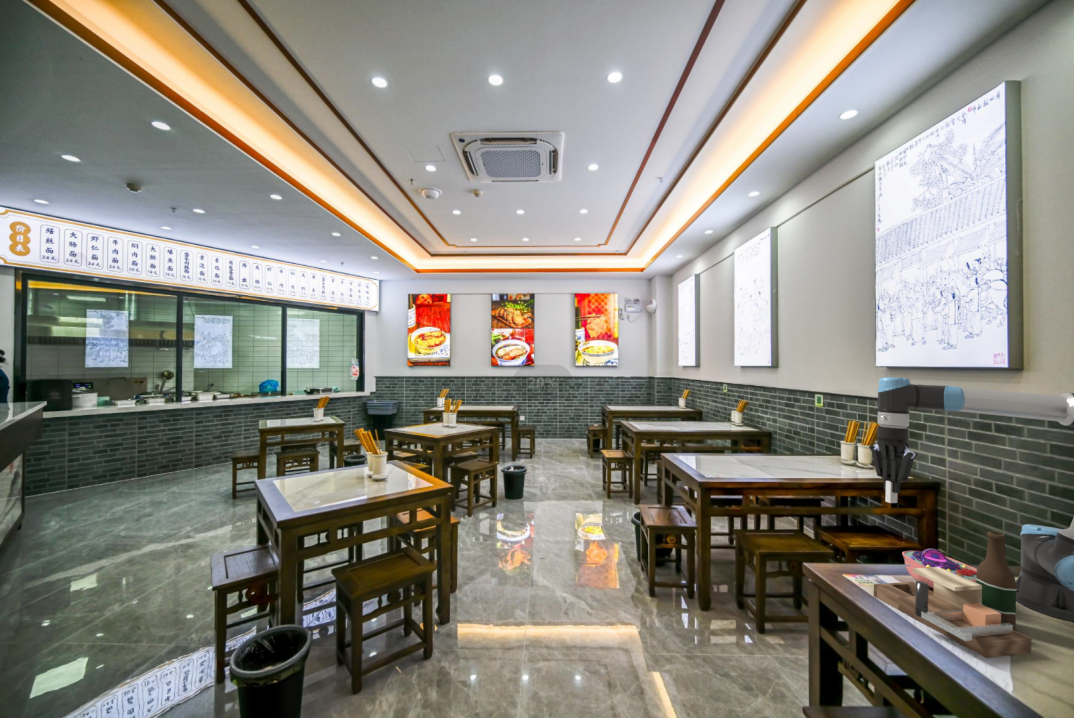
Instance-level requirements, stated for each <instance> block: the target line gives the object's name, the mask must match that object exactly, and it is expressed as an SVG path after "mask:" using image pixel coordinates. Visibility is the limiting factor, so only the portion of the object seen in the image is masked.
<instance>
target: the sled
mask: <svg viewBox="0 0 1074 718" xmlns="http://www.w3.org/2000/svg"><path fill="white" fill-rule="evenodd" d="M915 583H916V599H915V614H916V615H917V616H919V617H922V618H924V619H925V620H927V621H929V622H931V623H933V624H935V625H937V626H938V627H940V628H942V629H944V630H946V631H948V632H949V633H951V634H953V635H955V636H957V637H959V638H961V639H962V640H964V641H971V640H972V637H979V636H989V635H999V634H1009V633H1013V625H1012V624H1010V623H1001V624H990V625H980V626H969V627H958V626H956V625H954V624H952V623H950V622H948V621H949V620H960V619H963V609H959V610H947V611H936V612H929V611H928V590H930V588H929V587H930V586H929V585H928V584H927V583H925V582H922V581H917V580H915Z"/></svg>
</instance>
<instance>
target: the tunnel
mask: <svg viewBox="0 0 1074 718" xmlns="http://www.w3.org/2000/svg"><path fill="white" fill-rule="evenodd" d="M913 572H914V573H916V574H918V575H920V576H923V577H925V578H927V579H929V580H931V581H934V588H933V596H935V597H937V598H939V599H941V600H943V601H945V602H947V603H950V604H952V605H954V606H956V607H958V608H960V609H963V605H964V604H976V603H979V604H981V605H982V585H980V584H978V583H975V582H973V581H971V580H968V579H966V578H963V577H961V576H959V575H956V574H954V573H951V572H949V571H947V570H944V569H942V568H939V567H930V568H913Z"/></svg>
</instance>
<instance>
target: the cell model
mask: <svg viewBox="0 0 1074 718" xmlns="http://www.w3.org/2000/svg"><path fill="white" fill-rule="evenodd" d="M901 554H902V556H903V559H904V566H905V565H911V566H905V568H906V570H907V572H908V573H909V575H910V576H911V578H912V579H914V580H915V581H922V582H925V583H927V584H928V585H929V587H930V588H931V589H934V581H931V580H929V579H927V578H925V577H923V576H920V575H918V574H916V573H914V572H913V568H930V567H939V568H942V569H944V570H947V571H949V572H951V573H954V574H956V575H959V576H961V577H963V578H966V579H968V580H971V581H973V582H975V583H976V573H977V568H976V567H974V566H971V565H968V564H966V563H965V562H962V561H959V560H958V559H955V558H952V557H948V556H946V555H945V554H944V552H941V551H940V550H938V549H935V548H926V549H924V550H921V551H920V550H905V551H902V553H901Z"/></svg>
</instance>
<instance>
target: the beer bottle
mask: <svg viewBox="0 0 1074 718" xmlns="http://www.w3.org/2000/svg"><path fill="white" fill-rule="evenodd" d="M986 536H987V537H988V539H987V547H986V556H985V558H984V560H983V561H981V562H980V563H979V565H978V566H977V568H976V569H977V573H976V583H978V584H980V585H982V605H983V606H986V607H988V608H990V609H992V610H994V611H997V612H999V613H1001V623H1010V624H1012V625H1013V630H1015V631H1016V626H1017V625H1016V624H1017V621H1016V620H1017V619H1016V618H1017V601H1016V577H1015V576H1014V572H1013V571H1012V569H1011V568H1010V567H1009V566H1008V563H1007V556H1006V541H1007V537H1006V535H1005V534H1004V533H1001V532H997V531H991V530H990V531H988V532H987V533H986Z"/></svg>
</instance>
